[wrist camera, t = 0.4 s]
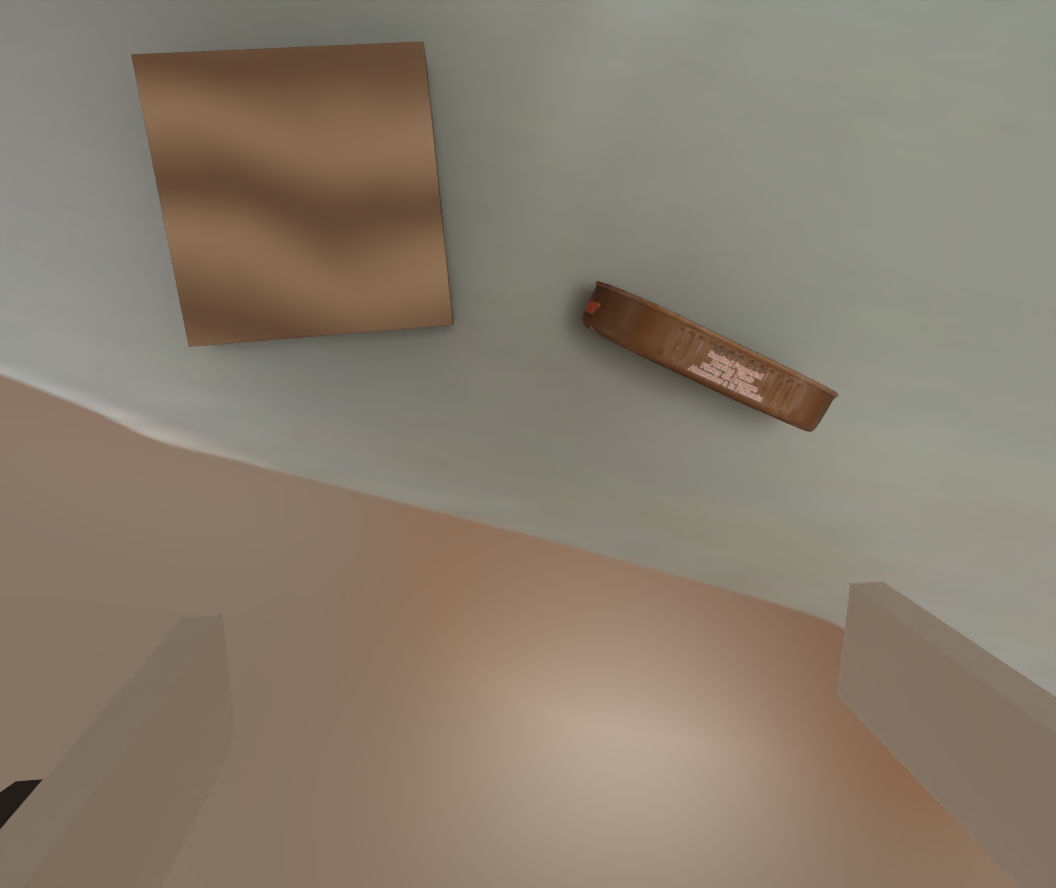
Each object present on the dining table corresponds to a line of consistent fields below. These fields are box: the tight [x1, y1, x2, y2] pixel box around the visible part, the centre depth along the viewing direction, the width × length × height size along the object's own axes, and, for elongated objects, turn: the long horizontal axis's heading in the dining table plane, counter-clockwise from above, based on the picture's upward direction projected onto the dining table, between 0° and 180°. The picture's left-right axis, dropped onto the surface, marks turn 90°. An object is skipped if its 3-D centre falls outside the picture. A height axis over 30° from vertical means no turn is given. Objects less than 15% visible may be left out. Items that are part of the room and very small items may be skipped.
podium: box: [132, 42, 453, 347], centre depth 34 cm, size 14×14×3 cm
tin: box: [583, 281, 838, 432], centre depth 36 cm, size 15×3×8 cm, turn 66°
